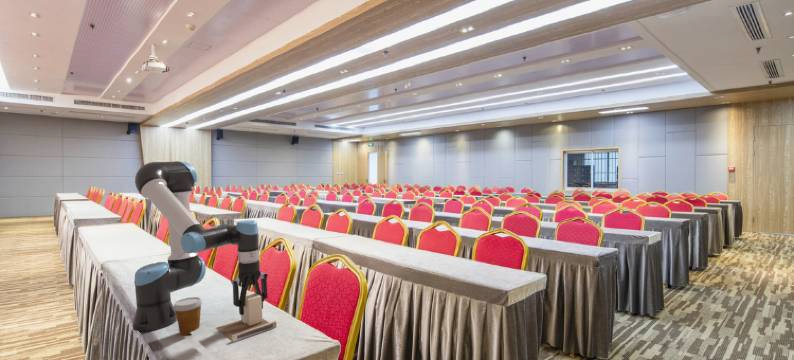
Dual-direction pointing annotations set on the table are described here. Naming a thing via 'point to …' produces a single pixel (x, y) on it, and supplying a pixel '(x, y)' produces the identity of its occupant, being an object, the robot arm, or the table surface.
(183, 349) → the table surface
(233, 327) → the shelf board
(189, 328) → the disposable coffee cup
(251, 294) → the carton
